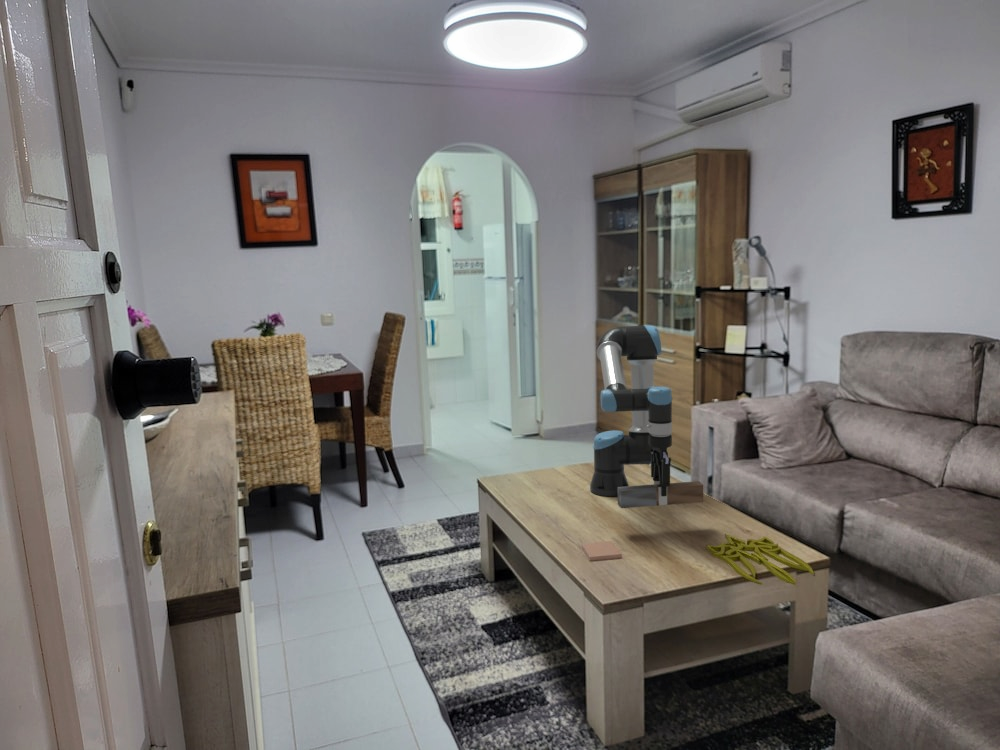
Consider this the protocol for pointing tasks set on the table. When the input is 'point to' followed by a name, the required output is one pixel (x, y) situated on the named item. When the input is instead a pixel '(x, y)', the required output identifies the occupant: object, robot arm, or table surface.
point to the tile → (601, 550)
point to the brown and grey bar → (650, 494)
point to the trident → (757, 557)
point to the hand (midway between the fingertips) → (660, 502)
